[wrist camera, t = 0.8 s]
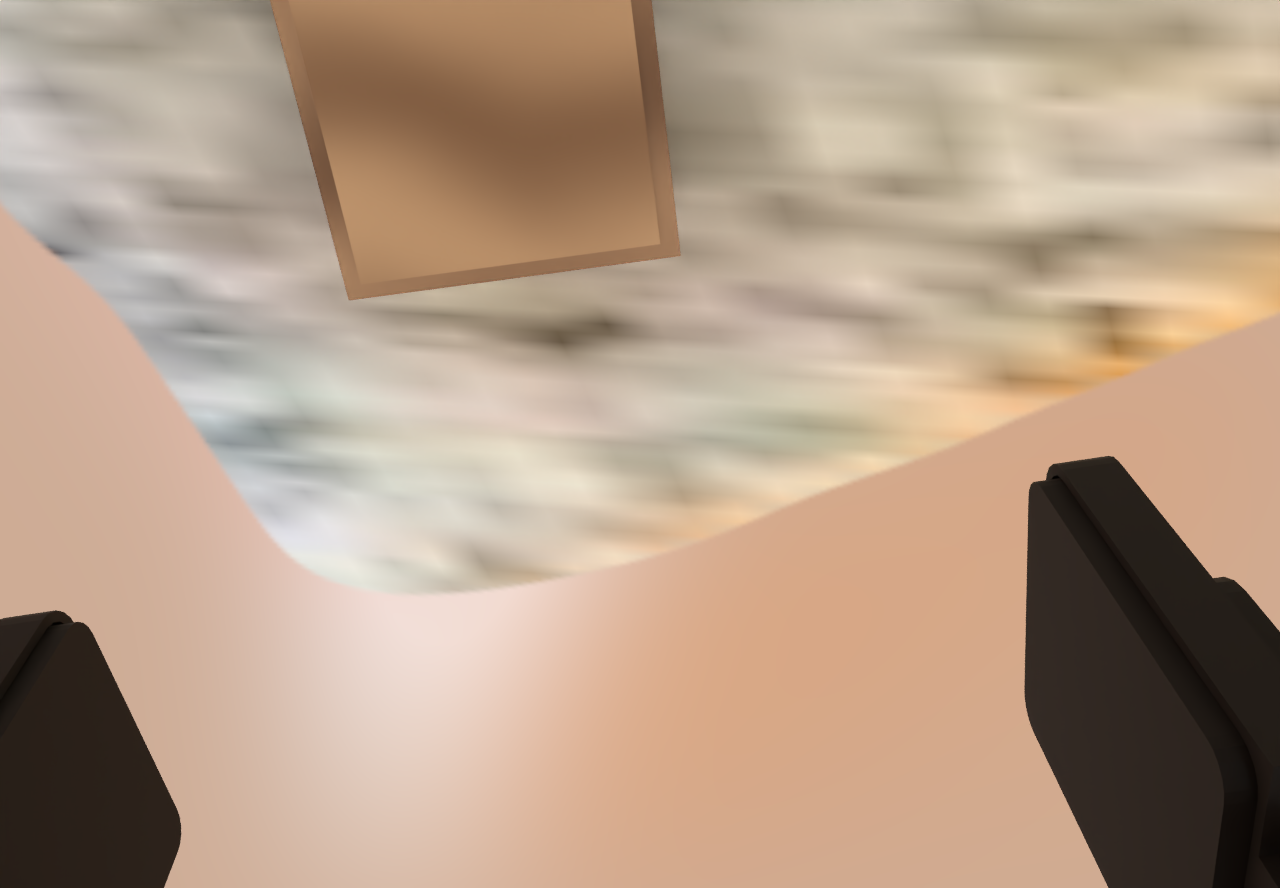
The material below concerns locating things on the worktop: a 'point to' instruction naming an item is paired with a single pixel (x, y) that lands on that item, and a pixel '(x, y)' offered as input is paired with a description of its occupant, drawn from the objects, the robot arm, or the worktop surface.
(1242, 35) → the worktop surface
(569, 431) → the worktop surface
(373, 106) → the plinth
